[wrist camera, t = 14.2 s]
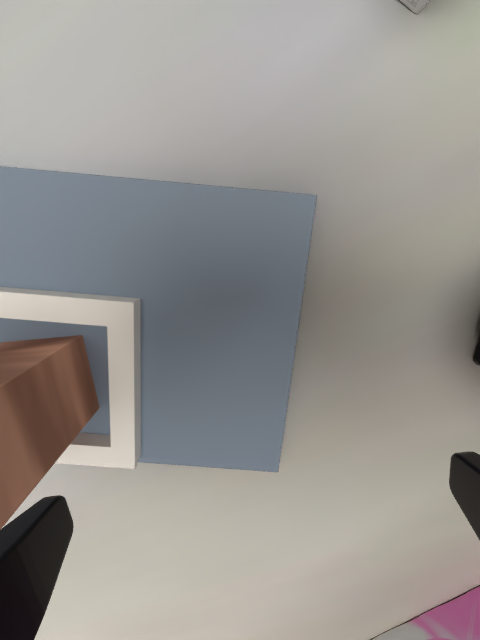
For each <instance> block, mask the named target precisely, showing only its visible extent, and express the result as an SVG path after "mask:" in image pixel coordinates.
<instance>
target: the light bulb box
mask: <svg viewBox="0 0 480 640" xmlns="http://www.w3.org/2000/svg"><path fill="white" fill-rule="evenodd" d="M400 1H401V2H402V3H403V4H404V5H406V6H407V7H408V8H409V9H410V10H411V11H412V12H414V13H416V14H418V13H420V12H421V11H422V10H423V8H424V7H425V6H426V5H427V3H428V2H429V1H430V0H400Z"/></svg>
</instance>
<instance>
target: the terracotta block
mask: <svg viewBox="0 0 480 640" xmlns="http://www.w3.org/2000/svg"><path fill="white" fill-rule="evenodd" d="M99 408H100V407H99V402H98V398H97V394H96V390H95V386H94V381H93V377H92V373H91V369H90V365H89V360H88V356H87V352H86V348H85V344H84V339H83V335H77V336H65V337H54V338H43V339H31V340H20V341H8V342H1V343H0V529H1V528H2V527H3V526H4V525H5V523H6V522H7V521H8V520H9V518H10V517H11V516H12V515H13V514H14V512H15V511H16V510H17V509H18V507H19V506H20V505H21V504H22V502H23V501H24V500H25V499H26V498H27V496H28V495H29V494H30V493H31V491H32V490H33V489H34V488H35V487H36V485H37V484H38V483H39V482H40V480H41V479H42V478H43V477H44V476H45V474H46V473H47V472H48V471H49V469H50V468H51V467H52V466H53V464H54V463H55V462H56V461H57V460H58V458H59V457H60V456H61V455H62V453H63V452H64V451H65V450H66V449H67V447H68V446H69V445H70V444H71V442H72V441H73V440H74V439H75V437H76V436H77V435H78V434H79V433H80V431H81V430H82V429H83V428H84V426H85V425H86V424H87V423H88V422H89V420H90V419H91V418H92V417H93V415H94V414H95V413H96V412H97V410H98V409H99Z"/></svg>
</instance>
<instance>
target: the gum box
mask: <svg viewBox="0 0 480 640" xmlns="http://www.w3.org/2000/svg"><path fill="white" fill-rule="evenodd" d="M372 640H480V586H479V587H477V588H475V589H473V590H471V591H469V592H467V593H465V594H464V595H462V596H460V597H458V598H456V599H454V600H452V601H450V602H448V603H445V604H443V605H440V606H438V607H436V608H434V609H432V610H430V611H428V612H426V613H424V614H422V615H420V616H419V617H417V618H415V619H413V620H411V621H409V622H407V623H405V624H402V625H400V626H398V627H395V628H393V629H391V630H389V631H387V632H385V633H383V634H381V635H378V636H377V637H375V638H374V639H372Z"/></svg>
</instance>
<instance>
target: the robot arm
mask: <svg viewBox="0 0 480 640" xmlns="http://www.w3.org/2000/svg"><path fill="white" fill-rule="evenodd" d="M474 362H475V363H476V364H477V365H479V366H480V340H479V343H478V347H477V350H476V353H475V356H474ZM449 485H450V489H451V492H452V494H453V496H454V497H455V499H456V501H457V503H458V504H459V506H460V508H461V509H462V511H463V513H464V514H465V516H466V518H467V520H468V521H469V523H470V525H471V526H472V528H473V530H474V531H475V533H476V535H477V537H478V538H479V540H480V455H479V454H477V453H474V452H460V453H455V454H453V455H452V457H451V464H450V478H449ZM72 533H73V520H72V517H71V514H70V511H69V508H68V505H67V502H66V499H65V498H64V497H63V496H50V497H45V498H43V499H41V500H40V501H38V502H37V503H36V504H34V505H33V506H32V507H30V508H29V509H28V510H26V511H25V512H24V513H22V514H21V515H19V516H18V517H17V518H15V519H14V520H13V521H11V522H10V523H9V524H7V525H6V526H5V527H3V528H2V529H1V530H0V640H34V638H35V636H36V634H37V631H38V629H39V627H40V624H41V622H42V619H43V617H44V614H45V612H46V609H47V606H48V604H49V601H50V598H51V595H52V592H53V589H54V586H55V583H56V581H57V578H58V575H59V572H60V569H61V566H62V563H63V560H64V557H65V554H66V551H67V548H68V545H69V542H70V540H71V537H72Z"/></svg>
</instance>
